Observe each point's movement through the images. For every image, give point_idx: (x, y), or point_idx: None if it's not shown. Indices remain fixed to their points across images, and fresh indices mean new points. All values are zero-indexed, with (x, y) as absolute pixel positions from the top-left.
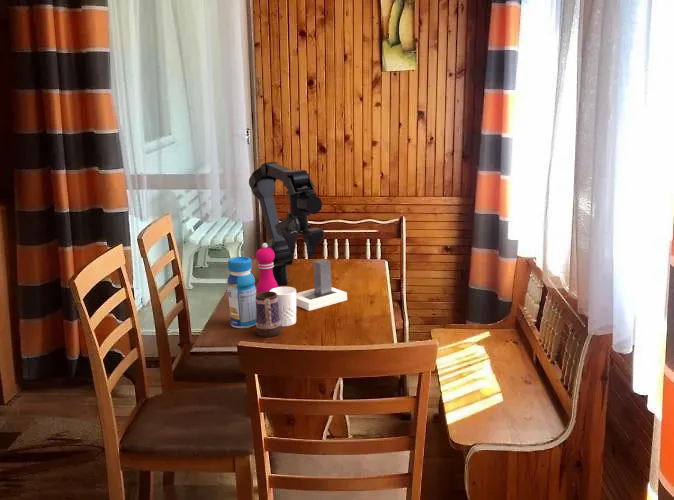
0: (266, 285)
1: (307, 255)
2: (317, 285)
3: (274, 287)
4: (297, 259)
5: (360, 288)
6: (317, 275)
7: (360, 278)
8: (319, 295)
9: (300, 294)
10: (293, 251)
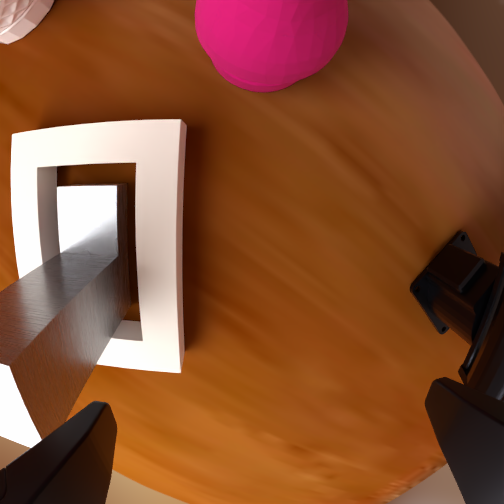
0: None
1: (88, 425)
2: (63, 272)
3: (198, 10)
4: None
5: (144, 440)
6: (25, 299)
7: (238, 483)
8: (75, 254)
9: (138, 177)
10: (437, 413)
